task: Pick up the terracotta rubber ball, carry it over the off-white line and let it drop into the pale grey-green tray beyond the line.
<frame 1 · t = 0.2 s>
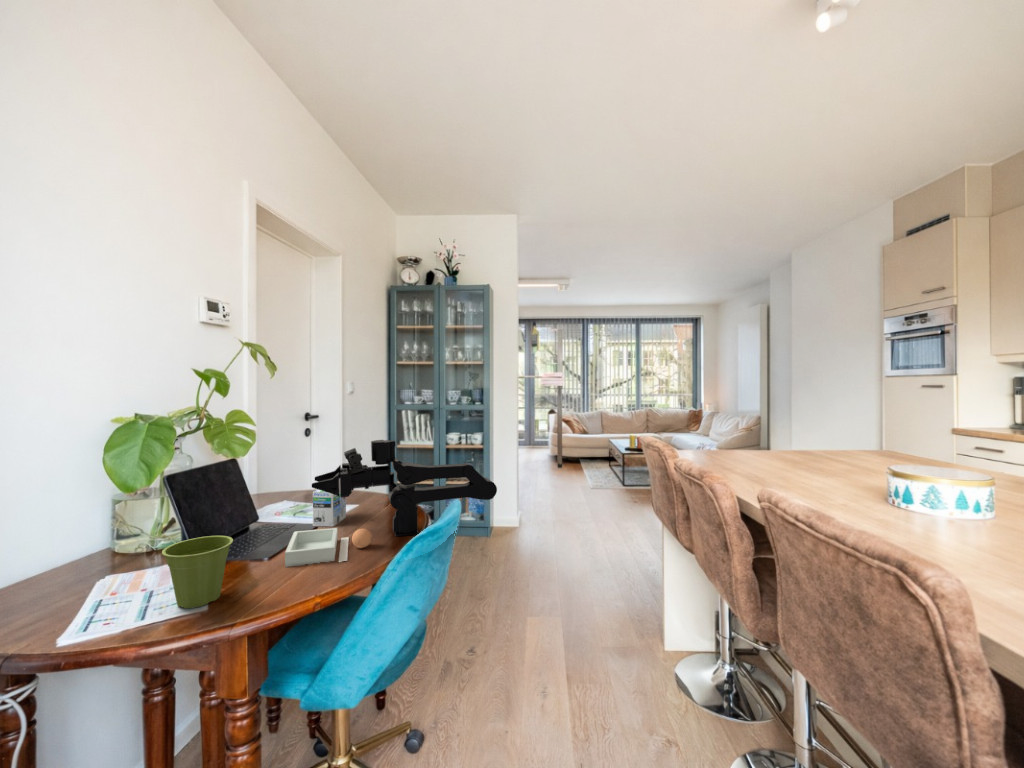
hand: (313, 482, 126), 17 cm above the table, tool horizontal, fingers open, 9 cm apart
light bulb box: (329, 522, 144), on the table
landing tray: (313, 552, 118), on the table
plant pot: (198, 601, 91), on the table
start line: (343, 549, 120), on the table
ball: (361, 538, 121), point 2 cm above the table
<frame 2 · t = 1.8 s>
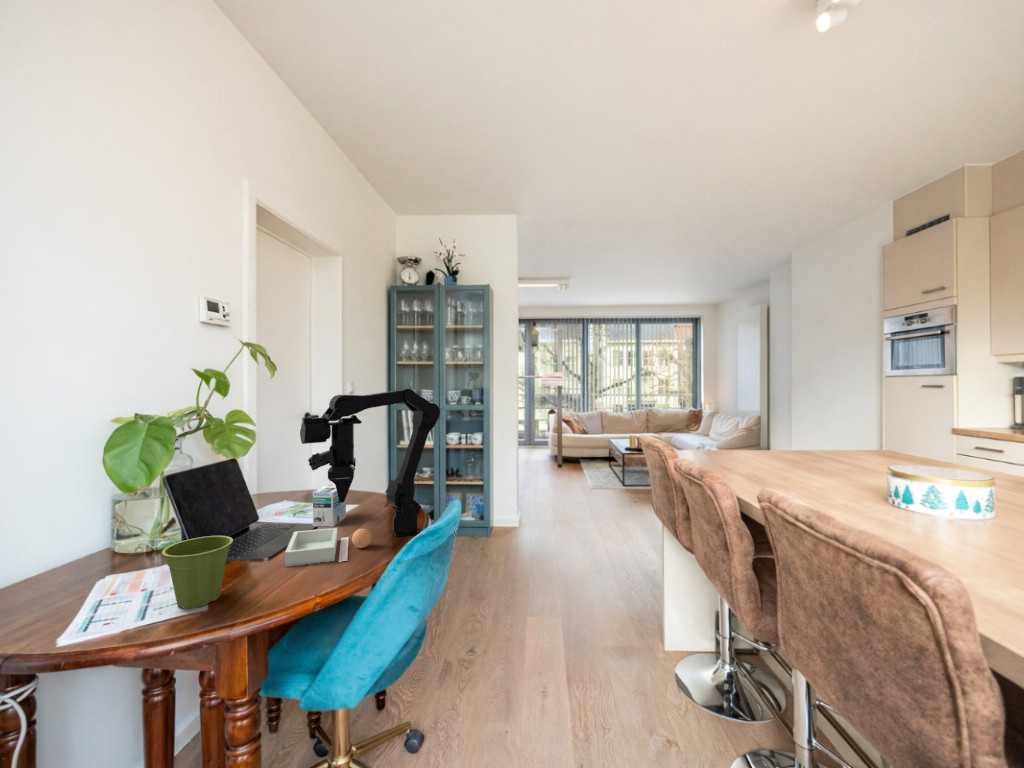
hand: (342, 498, 123), 13 cm above the table, tool pointing down, fingers open, 9 cm apart
nothing on the table moved.
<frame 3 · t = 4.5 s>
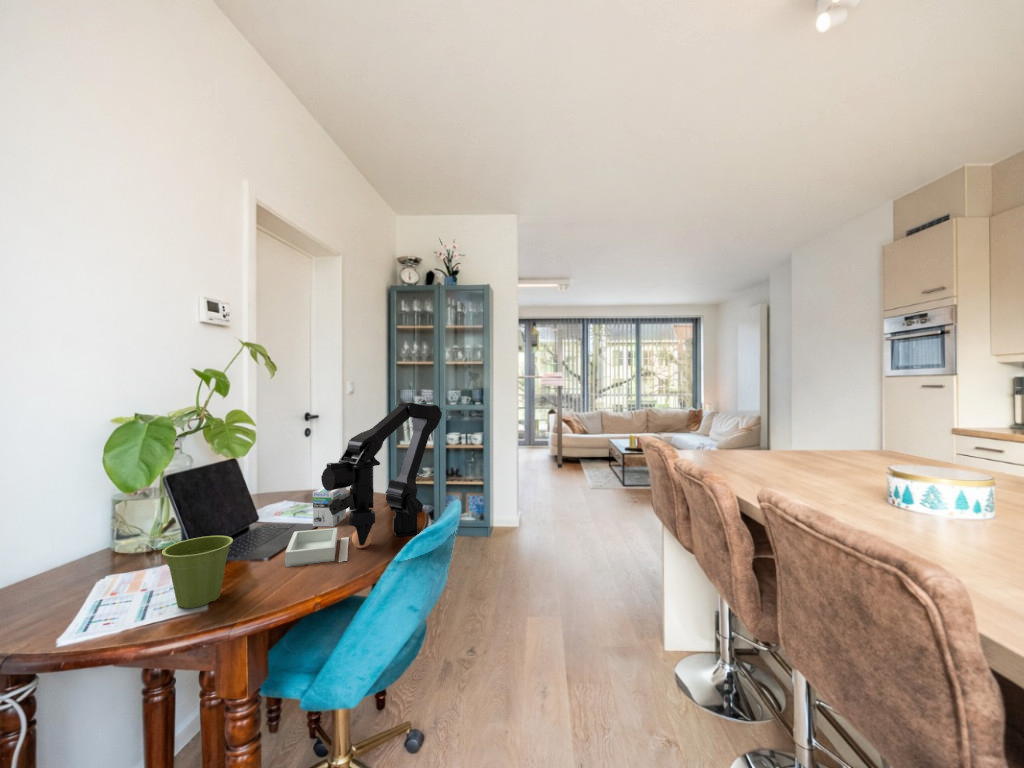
hand: (361, 541, 121), 2 cm above the table, tool pointing down, fingers closed on ball, 5 cm apart
ball: (361, 538, 121), point 2 cm above the table, touching gripper
everything else where it was.
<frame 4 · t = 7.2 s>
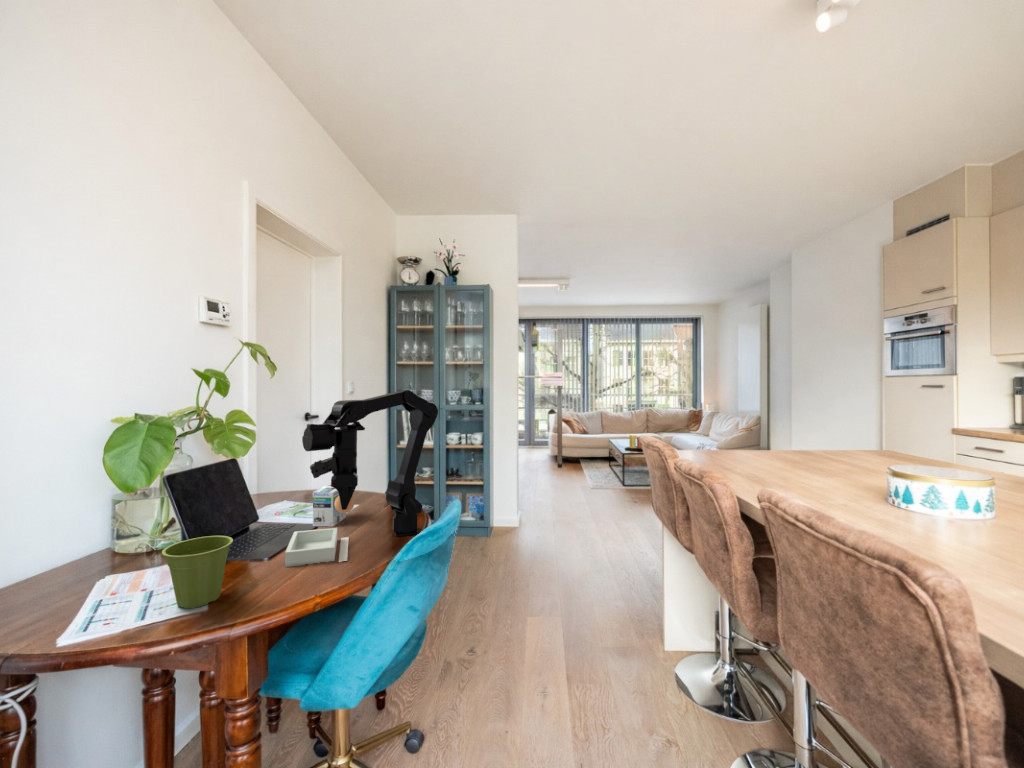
hand: (344, 506, 120), 11 cm above the table, tool pointing down, fingers closed on ball, 5 cm apart
ball: (344, 503, 120), point 12 cm above the table, touching gripper
everything else where it was.
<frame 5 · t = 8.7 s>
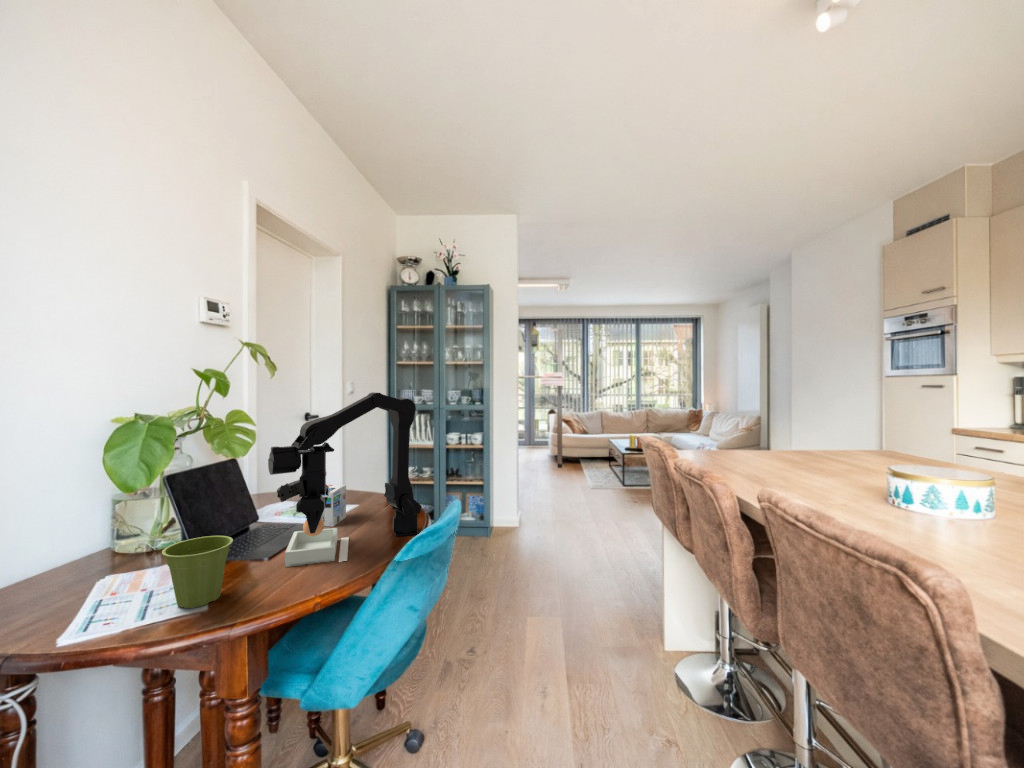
hand: (313, 529, 118), 6 cm above the table, tool pointing down, fingers closed on ball, 5 cm apart
ball: (313, 526, 118), point 7 cm above the table, touching gripper
everything else where it was.
when the fingers open (4 cm above the table, at t = 9.8 s): ball drops 2 cm, resting on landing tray.
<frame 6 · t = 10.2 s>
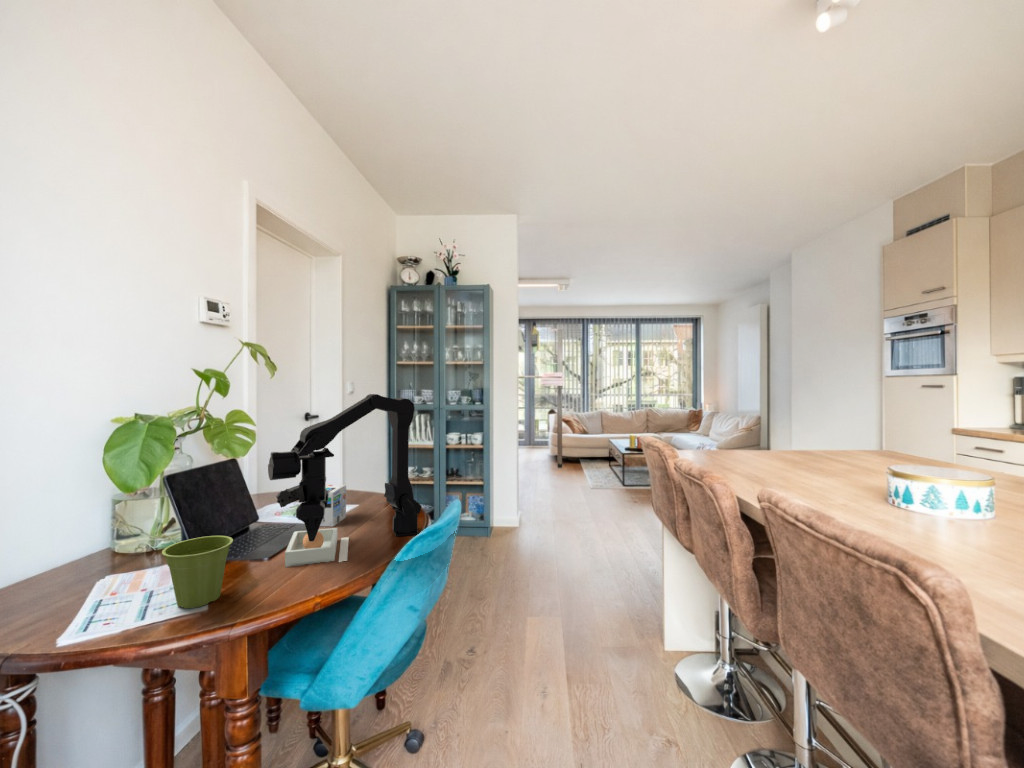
hand: (313, 535, 118), 4 cm above the table, tool pointing down, fingers open, 9 cm apart
ball: (313, 541, 118), point 3 cm above the table, touching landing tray
everything else where it was.
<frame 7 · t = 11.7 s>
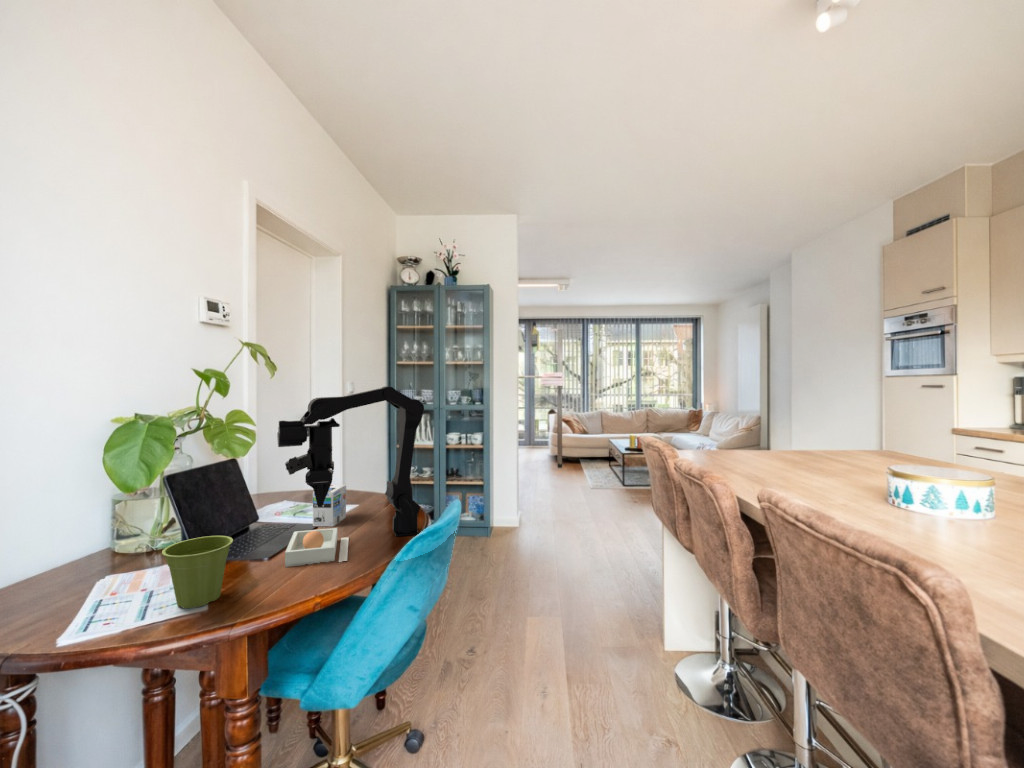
hand: (321, 502, 122), 12 cm above the table, tool pointing down, fingers open, 9 cm apart
nothing on the table moved.
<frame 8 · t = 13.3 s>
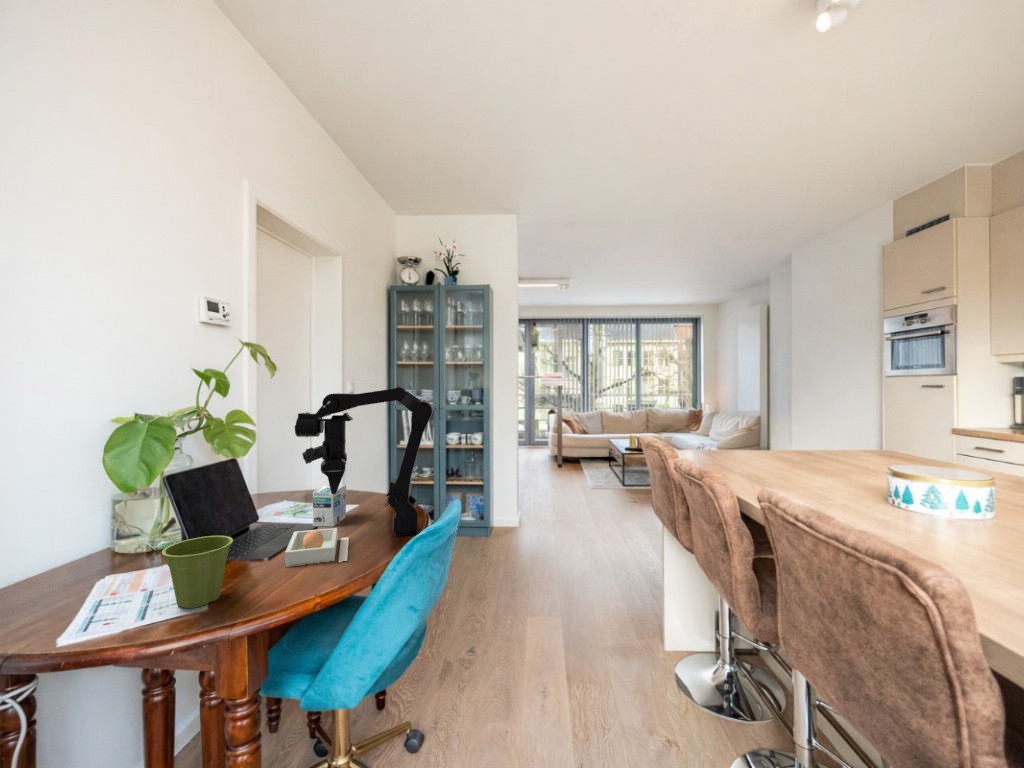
hand: (334, 490, 131), 13 cm above the table, tool pointing down, fingers open, 9 cm apart
nothing on the table moved.
at the end: ball inside the target area (0.1 cm from its centre), point 3.0 cm above the table; the gripper is holding nothing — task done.
